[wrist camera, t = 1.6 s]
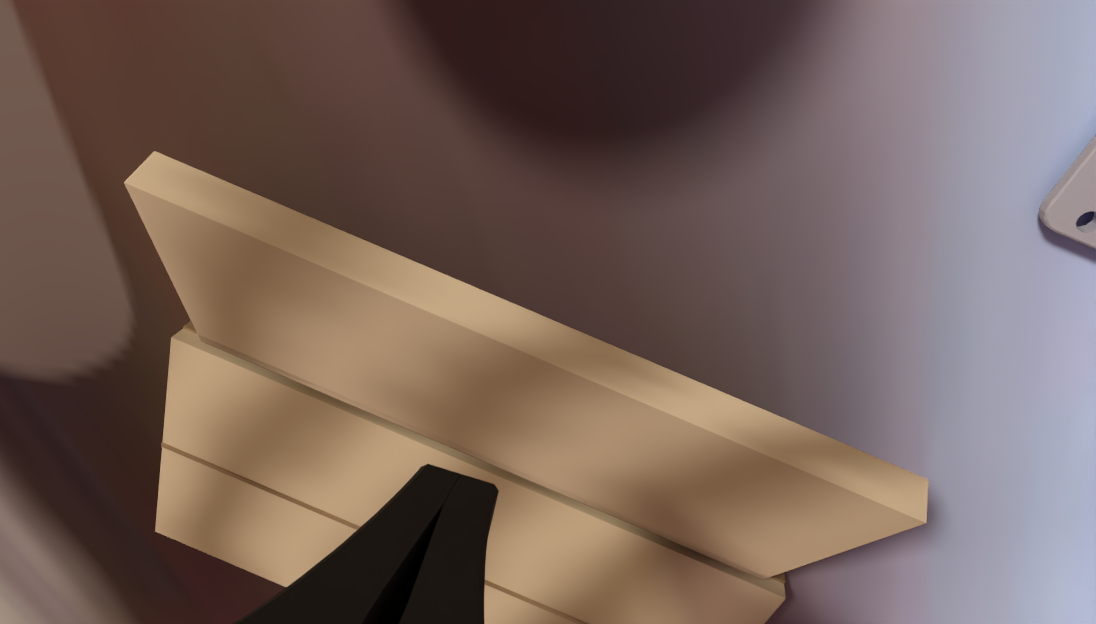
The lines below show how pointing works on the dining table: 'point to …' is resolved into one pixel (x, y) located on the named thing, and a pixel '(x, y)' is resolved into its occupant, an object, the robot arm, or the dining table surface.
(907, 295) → the dining table surface
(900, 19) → the dining table surface
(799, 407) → the dining table surface
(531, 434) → the board
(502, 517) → the thin wooden board
